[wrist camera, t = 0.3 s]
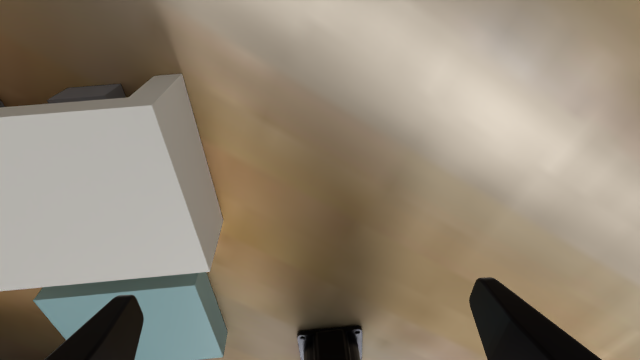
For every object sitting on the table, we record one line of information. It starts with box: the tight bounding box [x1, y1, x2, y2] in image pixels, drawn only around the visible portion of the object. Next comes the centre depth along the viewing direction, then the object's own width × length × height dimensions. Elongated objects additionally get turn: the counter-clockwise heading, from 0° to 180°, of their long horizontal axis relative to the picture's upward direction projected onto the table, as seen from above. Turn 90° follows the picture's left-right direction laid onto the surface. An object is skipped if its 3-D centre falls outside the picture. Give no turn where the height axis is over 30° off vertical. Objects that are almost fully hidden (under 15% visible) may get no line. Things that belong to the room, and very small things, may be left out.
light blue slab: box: [33, 272, 227, 360], centre depth 29 cm, size 10×12×2 cm
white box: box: [0, 74, 223, 291], centre depth 20 cm, size 11×17×5 cm, turn 93°
